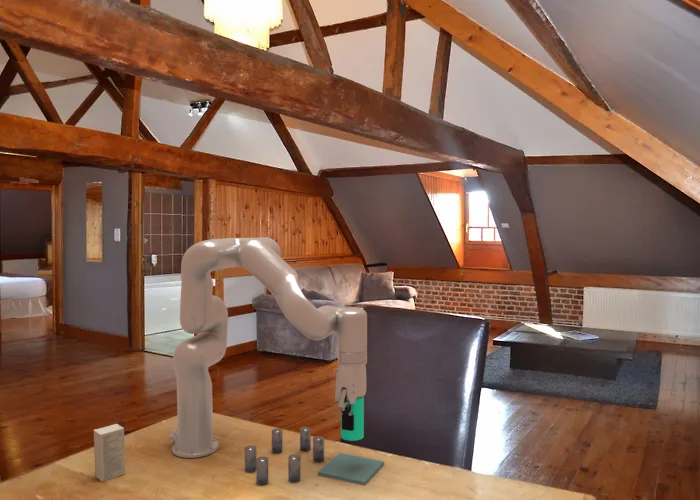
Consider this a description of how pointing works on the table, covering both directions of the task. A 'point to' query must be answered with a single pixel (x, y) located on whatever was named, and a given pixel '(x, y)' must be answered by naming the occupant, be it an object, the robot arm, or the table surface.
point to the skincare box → (109, 452)
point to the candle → (355, 422)
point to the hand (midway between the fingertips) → (352, 425)
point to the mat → (351, 468)
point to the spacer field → (277, 447)
